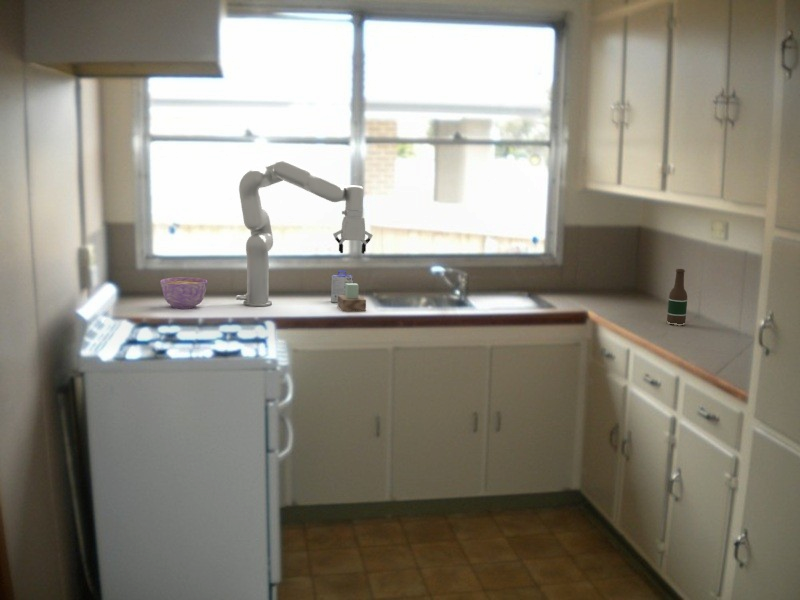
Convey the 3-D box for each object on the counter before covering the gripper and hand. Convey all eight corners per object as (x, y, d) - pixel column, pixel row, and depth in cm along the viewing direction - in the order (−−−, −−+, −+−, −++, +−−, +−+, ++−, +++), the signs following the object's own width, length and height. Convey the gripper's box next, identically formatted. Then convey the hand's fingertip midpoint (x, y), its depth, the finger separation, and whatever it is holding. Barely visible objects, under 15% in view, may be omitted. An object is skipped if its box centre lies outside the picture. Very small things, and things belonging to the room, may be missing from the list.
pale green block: (347, 298, 396) (347, 285, 395) (345, 296, 401) (345, 283, 400) (358, 298, 397) (358, 284, 396) (356, 296, 402) (356, 283, 401)
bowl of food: (217, 307, 391) (217, 281, 389) (177, 313, 376) (177, 285, 374) (190, 301, 404) (190, 276, 402) (151, 306, 389) (150, 279, 388)
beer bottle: (688, 325, 386) (693, 270, 382) (673, 326, 384) (677, 270, 380) (678, 322, 394) (683, 267, 390) (662, 322, 391) (667, 268, 387)
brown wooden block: (343, 311, 393) (343, 300, 392) (337, 306, 405) (338, 295, 404) (365, 311, 395) (366, 299, 394) (359, 306, 407) (359, 295, 407)
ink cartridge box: (352, 300, 421) (352, 270, 418) (352, 302, 415) (353, 271, 413) (330, 300, 420) (331, 269, 417) (330, 302, 414) (331, 271, 412)
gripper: (335, 214, 387) (334, 253, 390) (375, 215, 392) (373, 254, 395) (332, 212, 395) (331, 251, 397) (371, 214, 399) (369, 252, 402)
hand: (352, 253), depth 396 cm, fingers open, 9 cm apart
